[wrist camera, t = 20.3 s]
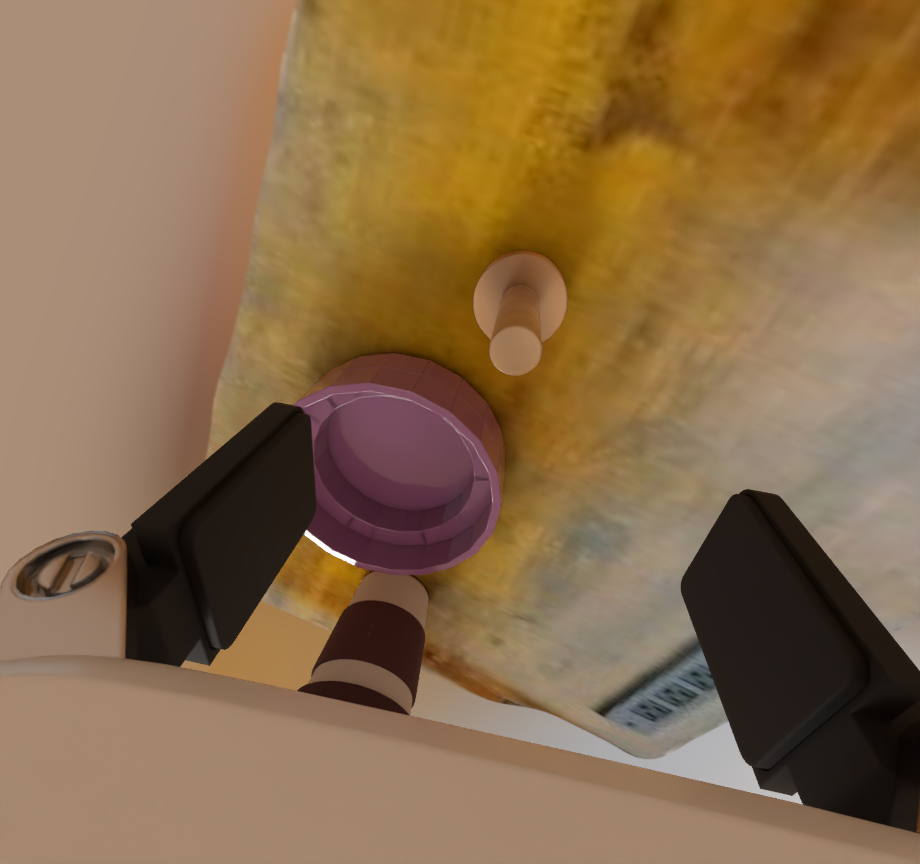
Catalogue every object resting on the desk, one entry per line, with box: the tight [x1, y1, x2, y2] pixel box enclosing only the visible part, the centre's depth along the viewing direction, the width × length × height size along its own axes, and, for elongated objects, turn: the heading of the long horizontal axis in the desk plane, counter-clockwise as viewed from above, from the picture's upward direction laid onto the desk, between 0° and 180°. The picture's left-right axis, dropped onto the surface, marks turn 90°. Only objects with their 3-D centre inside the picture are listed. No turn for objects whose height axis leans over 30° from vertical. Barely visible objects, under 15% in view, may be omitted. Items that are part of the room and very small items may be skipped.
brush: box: [473, 250, 568, 376], centre depth 22 cm, size 5×5×11 cm
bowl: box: [294, 353, 506, 575], centre depth 32 cm, size 16×16×6 cm
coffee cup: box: [298, 571, 429, 716], centre depth 37 cm, size 10×10×15 cm
